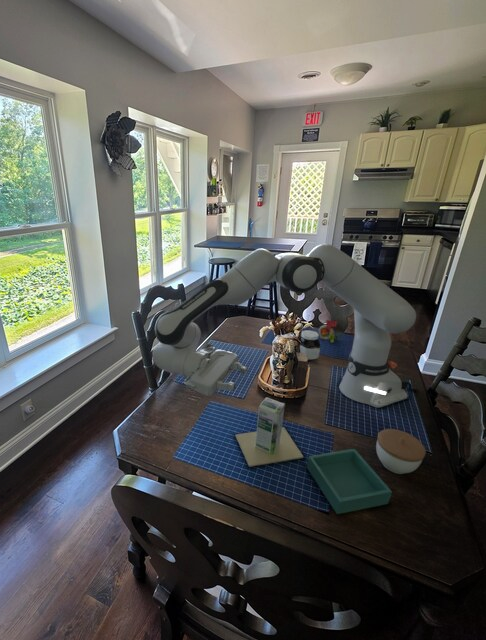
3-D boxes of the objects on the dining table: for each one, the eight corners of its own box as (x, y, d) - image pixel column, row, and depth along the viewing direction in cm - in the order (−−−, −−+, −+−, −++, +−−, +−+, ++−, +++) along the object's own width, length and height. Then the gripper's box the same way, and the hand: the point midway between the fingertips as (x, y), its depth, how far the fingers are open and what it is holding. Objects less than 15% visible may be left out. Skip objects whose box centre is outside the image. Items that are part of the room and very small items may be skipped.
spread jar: (320, 362, 137) (325, 338, 133) (296, 365, 135) (299, 340, 131) (306, 349, 148) (310, 326, 143) (283, 351, 146) (286, 328, 142)
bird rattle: (319, 345, 156) (339, 343, 149) (313, 324, 154) (332, 321, 148) (323, 340, 160) (342, 338, 154) (317, 319, 159) (336, 317, 153)
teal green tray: (351, 459, 89) (354, 448, 88) (388, 503, 77) (392, 491, 75) (306, 467, 87) (308, 456, 85) (337, 514, 75) (340, 502, 73)
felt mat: (283, 428, 101) (284, 427, 101) (303, 457, 90) (303, 456, 90) (235, 435, 98) (235, 434, 98) (249, 467, 87) (249, 465, 87)
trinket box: (399, 487, 81) (409, 459, 77) (363, 456, 90) (370, 430, 86) (427, 472, 85) (437, 445, 81) (389, 444, 94) (397, 419, 90)
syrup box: (254, 447, 93) (257, 406, 88) (262, 434, 98) (266, 395, 92) (273, 455, 90) (278, 414, 85) (280, 442, 95) (285, 402, 89)
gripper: (180, 374, 90) (226, 388, 83) (213, 344, 106) (253, 354, 99) (181, 392, 92) (225, 408, 85) (213, 360, 108) (252, 371, 102)
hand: (240, 378), depth 92 cm, fingers open, 8 cm apart
